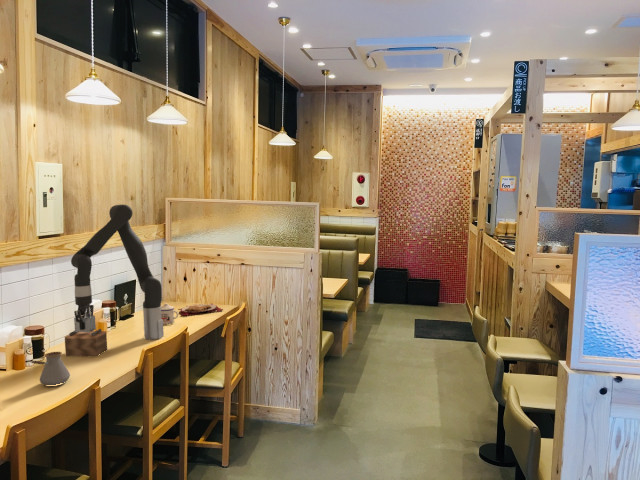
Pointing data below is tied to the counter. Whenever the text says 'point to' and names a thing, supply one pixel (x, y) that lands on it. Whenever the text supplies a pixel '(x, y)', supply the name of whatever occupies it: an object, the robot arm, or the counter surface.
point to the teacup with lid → (168, 314)
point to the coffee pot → (53, 369)
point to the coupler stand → (86, 343)
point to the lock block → (86, 324)
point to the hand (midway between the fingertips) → (85, 327)
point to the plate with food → (199, 309)
